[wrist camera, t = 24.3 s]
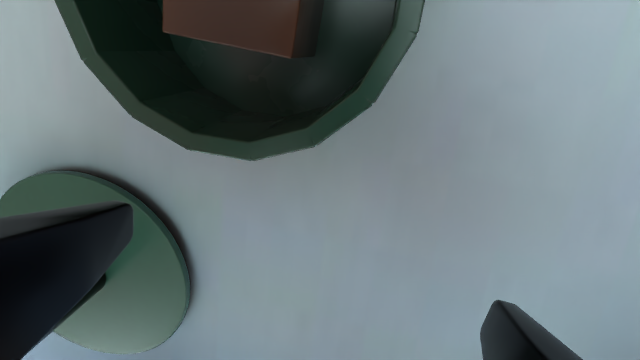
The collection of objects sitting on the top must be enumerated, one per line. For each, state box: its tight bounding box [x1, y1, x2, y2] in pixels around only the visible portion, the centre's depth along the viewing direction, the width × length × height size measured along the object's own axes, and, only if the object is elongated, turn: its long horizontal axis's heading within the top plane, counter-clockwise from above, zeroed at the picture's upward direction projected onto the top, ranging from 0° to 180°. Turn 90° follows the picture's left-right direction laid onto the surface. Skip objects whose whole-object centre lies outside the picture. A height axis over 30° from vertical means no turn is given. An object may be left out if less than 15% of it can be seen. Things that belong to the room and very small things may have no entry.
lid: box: [0, 170, 190, 354], centre depth 19 cm, size 13×13×8 cm
